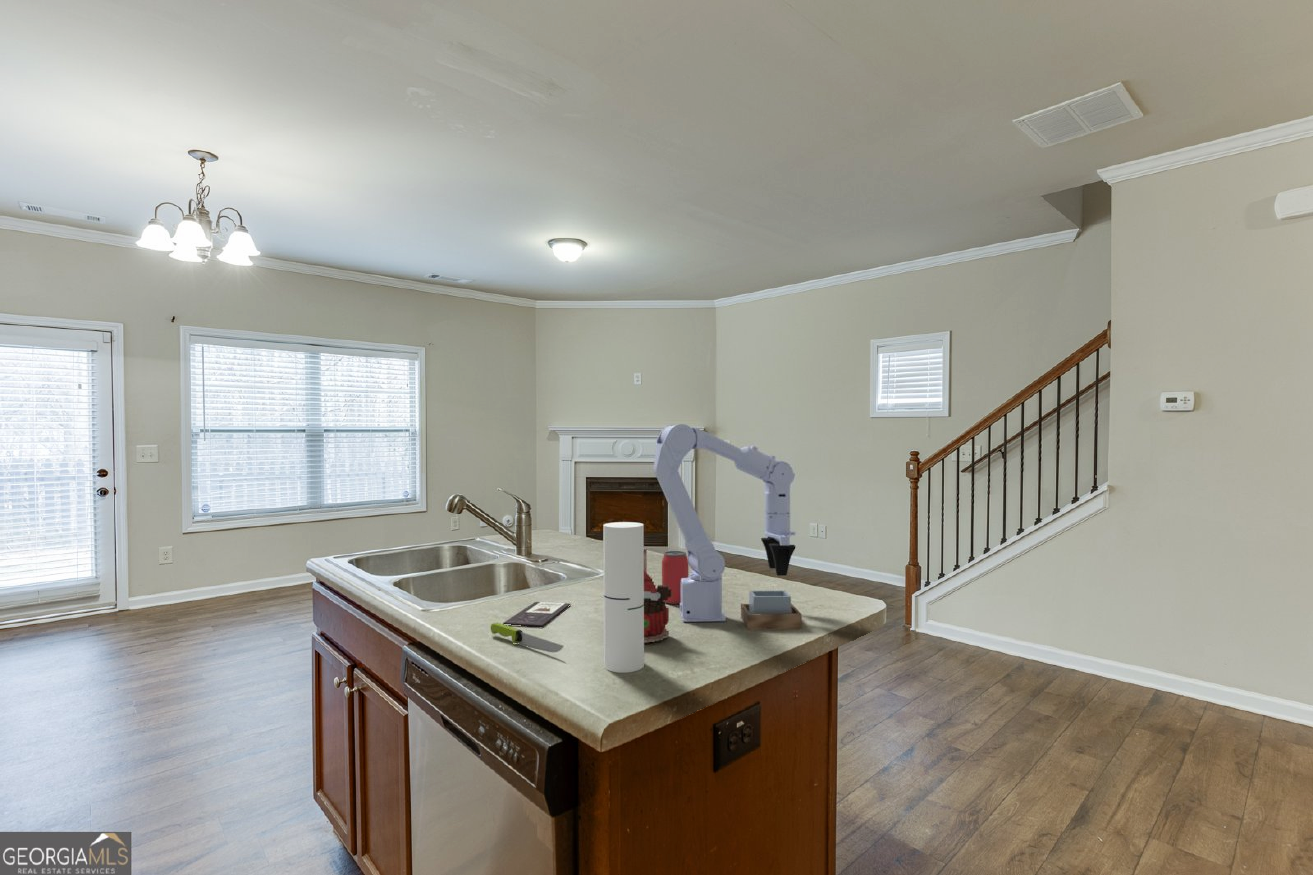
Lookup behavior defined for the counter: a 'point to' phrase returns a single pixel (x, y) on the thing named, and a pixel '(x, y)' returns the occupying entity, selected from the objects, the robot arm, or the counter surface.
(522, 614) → the chocolate bar
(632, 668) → the cylindrical container
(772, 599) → the grey crate
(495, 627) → the kitchen knife
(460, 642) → the counter surface
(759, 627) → the walnut crate
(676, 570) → the beer can
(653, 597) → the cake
